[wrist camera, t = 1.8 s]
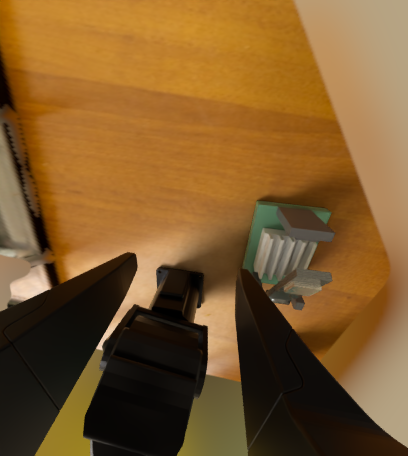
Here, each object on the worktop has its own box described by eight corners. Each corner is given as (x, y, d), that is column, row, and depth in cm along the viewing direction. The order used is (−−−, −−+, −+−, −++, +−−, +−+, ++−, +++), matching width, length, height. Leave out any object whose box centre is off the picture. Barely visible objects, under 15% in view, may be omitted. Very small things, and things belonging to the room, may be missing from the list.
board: (295, 281, 23) (314, 322, 18) (240, 273, 24) (243, 311, 19) (325, 208, 19) (362, 236, 14) (256, 200, 19) (266, 224, 14)
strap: (286, 294, 20) (287, 306, 20) (264, 291, 20) (264, 303, 20) (329, 268, 13) (333, 286, 13) (295, 264, 13) (297, 281, 13)
